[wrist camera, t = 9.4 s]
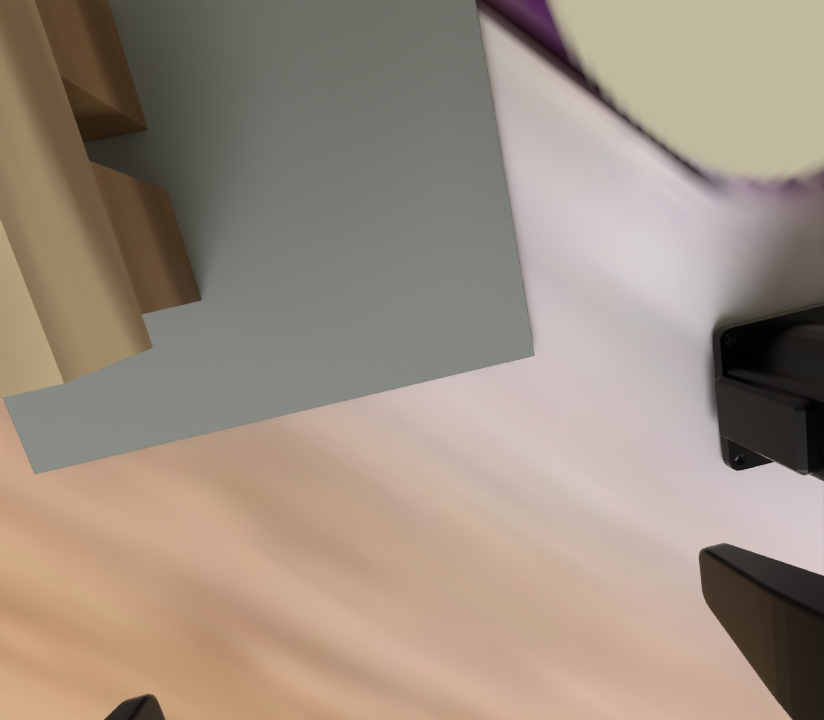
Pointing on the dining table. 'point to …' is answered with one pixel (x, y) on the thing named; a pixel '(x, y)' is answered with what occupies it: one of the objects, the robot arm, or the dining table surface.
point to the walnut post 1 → (92, 67)
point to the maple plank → (53, 228)
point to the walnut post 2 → (147, 240)
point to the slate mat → (302, 218)
